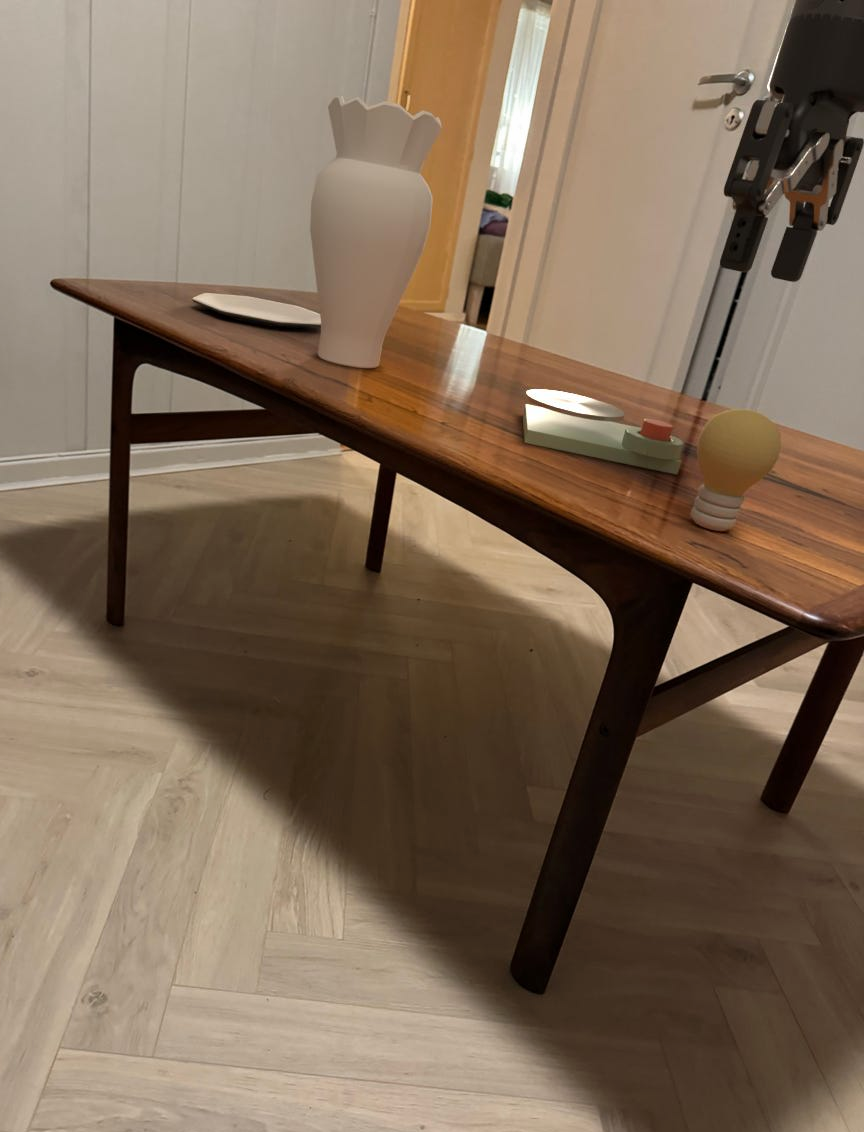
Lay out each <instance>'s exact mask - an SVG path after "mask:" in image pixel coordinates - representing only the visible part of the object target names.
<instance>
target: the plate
mask: <svg viewBox="0 0 864 1132" xmlns="http://www.w3.org/2000/svg"><path fill="white" fill-rule="evenodd" d="M191 301H192V302H193V303H194V304H197V305H199V306H201V307H204V308H207V309H210V310H213V311H214V312H216V313H218V314H221V315H222V316H223V315H224V316H226V317H228V318H230V319H233V320H237V321H241V322H246V323H251V324H256V325H262V326H266V327H274V328H288V329H289V328H291V329H302V328H309V327H312V328H313V327H314V328H321V318H320V312H319V313H318V312H316V311H313V310H310V309H307V308H305V307H302V306H299V305H294V304H290V303H289V304H288V303H284V302H279V301H273V300H268V299H263V298H259V297H253V296H247V295H235V294H223V293H212V292H204V293H201V294H199V295H196V296H194V297H192V298H191Z"/></svg>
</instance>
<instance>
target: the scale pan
mask: <svg viewBox="0 0 864 1132" xmlns="http://www.w3.org/2000/svg"><path fill="white" fill-rule="evenodd" d="M525 399H526V400H527V401H529V402H530V403H532V404H534V405H535V406H538V407H543V408H546V409H549V410H552V411H555V412H559V413H562V414H566V415H570V416H575V417H579V418H585V419H590V420H598V421H610V422H620V421H623V420H624V418H625V415H626V414H625V412H624V411H623V410H622V409H621V408H618V407H617V406H615V405H612V404H610V403H607V402H604V401H601V400H598V399H594V398H591V397H588V396H583V395H579V394H575V393H569V392H566V391H565V392H564V391H558V390H551V389H550V390H549V389H529V390H527V391H526V393H525Z"/></svg>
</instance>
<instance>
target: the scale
mask: <svg viewBox="0 0 864 1132" xmlns="http://www.w3.org/2000/svg"><path fill="white" fill-rule="evenodd" d="M522 425H523V441H524V442H523V443H524V444H528V445H533V446H537V447H541V448H542V447H543V448H548V449H553V450H555V451H556V450H557V451H562V452H566V453H571V454H577V455H581V456H584V457H585V456H586V457H590V458H595V459H601V460H605V461H609V462H615V463H619V464H624V465H628V466H632V467H633V466H634V467H638V468H643V469H648V470H651V471H657V472H661V473H667V474H672V475H676V476H677V475H678V474H679V471H680V467H681V465H682V460H681V459H680V457H681V454H682V451H683V448H684V445H685V444H684V442H683V440H681V439H680V438H678V437H676V436H673V435H672V434H671V435H670V439H669V442H668V441H660V440H655V439H651V438H648V437H644V436H642V435H640V432H641V429H642V427H639V426H634V425H629V424H624V423H619V422H616V421H598V420H590V419H585V418H579V417H575V416H570V415H566V414H562V413H559V412H555V411H552V410H549V409H546V408H543V407H540V406H538V405H532V404H528V403H526V404H525V405H524V409H523V414H522Z"/></svg>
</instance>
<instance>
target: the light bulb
mask: <svg viewBox="0 0 864 1132" xmlns="http://www.w3.org/2000/svg"><path fill="white" fill-rule="evenodd" d="M781 438H782V437H781V433H780V430H779V428H778V427H777V424H775V423H774V422H773V421H772V420H771V419H770V418H769V417H767V416H766V415H764V414H762V413H761V412H759V411H756V410H752V409H748V408H732V409H725V410H723V411H721V412H719V413H717V414H714V415H713V416H712V417H711V418H710V419H709V420H708V421H707V422H706V423H705V425H704V426H703V428H702V429H701V431H700V434H699V436H698V439H697V440H698V441H697V445H696V457H697V463H698V466H699V469H700V472H701V475H702V479H703V484H701V485H700V486H699V487H698V490H697V496H696V497H695V499H694V502H693V505H694V506H693V507H691V511H690V517H691V519H692V520H693V522H694V523H695V524H696V525H698V526H699V527H701V528H704V529H707V530H710V531H715V532H726V531H728V530H730V529H732V528H734V527H735V525H736V523H737V517H738V516H739V515H740V512H741V507H742V505H743V503H744V501H745V497H744V493H745V492H747V490H749V489H750V488H751V487H753V486H755V485H756V484H757V483H759V482H760V481H761V480H763V479H764V478H765V477H766V476H767V475H768V474H769V473H770V472H771V471H772V469H773V468H774V467H775V465H776V463H777V461H778V459H779V456H780V454H781V448H782V439H781Z"/></svg>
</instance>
